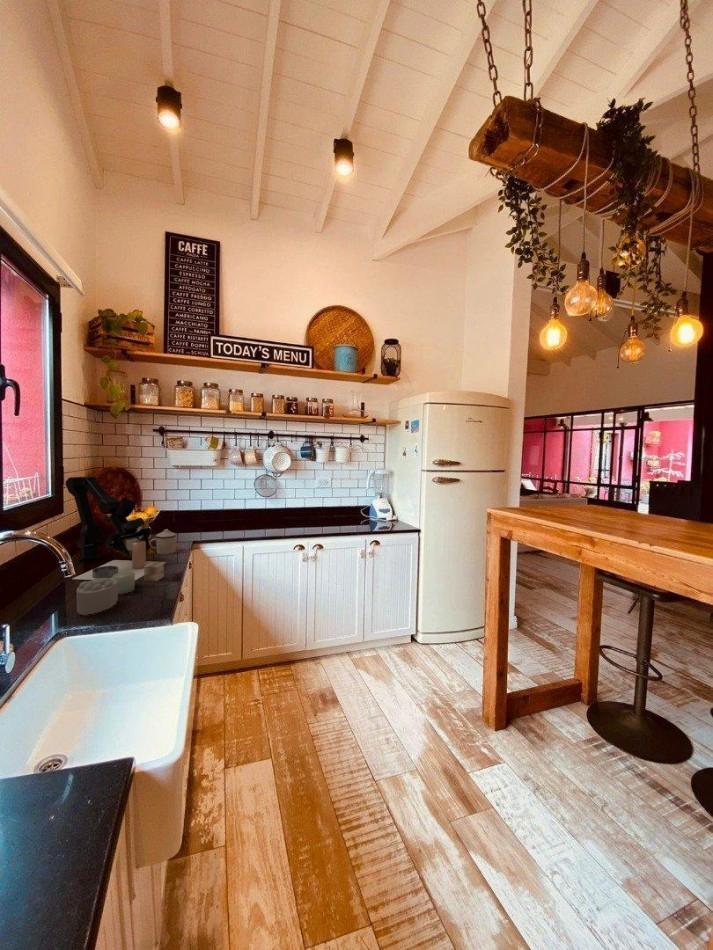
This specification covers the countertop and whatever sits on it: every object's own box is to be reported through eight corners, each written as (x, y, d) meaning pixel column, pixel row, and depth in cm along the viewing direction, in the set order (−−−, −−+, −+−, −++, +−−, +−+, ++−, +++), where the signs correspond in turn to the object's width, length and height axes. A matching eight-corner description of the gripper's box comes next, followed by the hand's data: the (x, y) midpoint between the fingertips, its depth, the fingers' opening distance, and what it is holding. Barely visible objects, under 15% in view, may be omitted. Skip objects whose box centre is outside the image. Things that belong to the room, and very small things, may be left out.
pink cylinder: (129, 568, 168) (129, 543, 167) (136, 565, 173) (136, 540, 172) (141, 569, 168) (141, 543, 167) (147, 565, 173) (147, 540, 172)
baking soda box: (148, 549, 205) (148, 518, 204) (144, 552, 198) (144, 520, 197) (128, 549, 203) (128, 518, 202) (123, 552, 197) (123, 520, 196)
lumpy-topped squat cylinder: (121, 599, 140) (121, 574, 139) (105, 614, 127) (104, 588, 126) (88, 600, 138) (88, 575, 137) (68, 616, 125) (68, 589, 124)
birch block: (144, 584, 155) (144, 566, 154) (151, 580, 160) (151, 562, 159) (157, 584, 155) (157, 567, 154) (163, 580, 160) (163, 563, 159)
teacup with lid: (176, 549, 206) (176, 527, 205) (176, 554, 198) (176, 530, 197) (150, 551, 201) (150, 528, 200) (148, 556, 193) (148, 532, 192)
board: (71, 582, 154) (71, 578, 154) (114, 563, 180) (114, 559, 180) (133, 585, 153) (133, 581, 153) (166, 565, 179) (166, 561, 179)
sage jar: (108, 593, 144) (108, 577, 143) (120, 587, 151) (120, 571, 150) (127, 594, 144) (127, 578, 143) (138, 588, 151) (138, 572, 150)
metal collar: (87, 578, 155) (87, 572, 155) (102, 571, 163) (102, 565, 163) (109, 579, 155) (109, 572, 154) (122, 572, 163) (122, 566, 163)
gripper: (108, 515, 162) (127, 545, 159) (149, 509, 179) (167, 536, 176) (96, 532, 166) (114, 562, 162) (137, 525, 183) (154, 551, 179)
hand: (139, 552), depth 170 cm, fingers open, 9 cm apart
